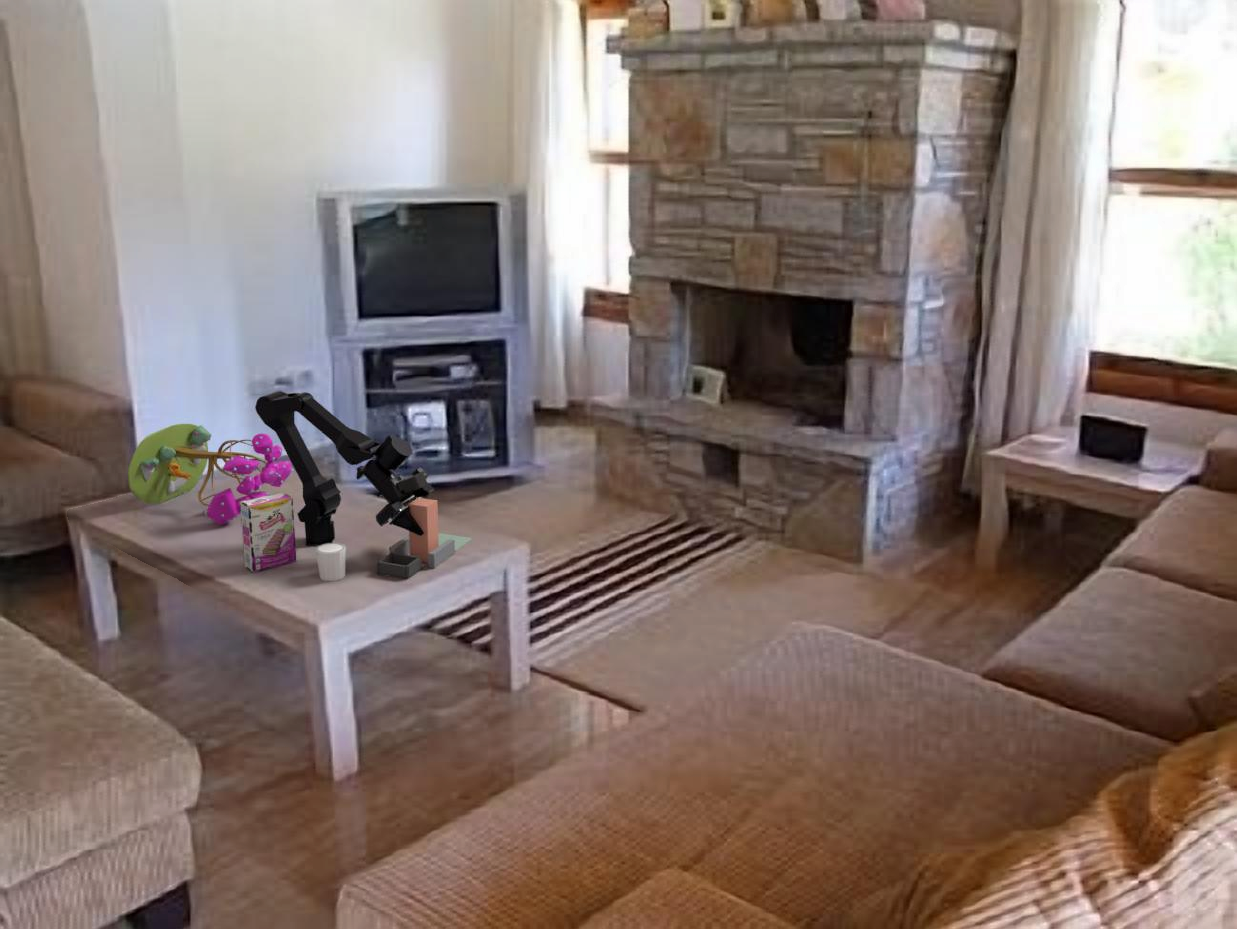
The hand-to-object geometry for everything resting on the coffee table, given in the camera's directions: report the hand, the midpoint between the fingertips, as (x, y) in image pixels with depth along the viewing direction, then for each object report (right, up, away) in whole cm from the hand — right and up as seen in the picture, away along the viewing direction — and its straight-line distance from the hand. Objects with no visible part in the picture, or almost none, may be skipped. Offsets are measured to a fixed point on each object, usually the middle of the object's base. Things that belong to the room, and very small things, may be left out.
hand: (428, 530), depth 275 cm
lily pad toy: (-61, +4, +35) cm, 71 cm away
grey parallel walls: (-1, -7, +3) cm, 7 cm away
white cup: (-21, -10, -9) cm, 25 cm away
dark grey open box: (-6, -9, -6) cm, 12 cm away
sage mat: (+2, -4, +12) cm, 13 cm away
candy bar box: (-37, -8, -2) cm, 38 cm away
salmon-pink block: (-1, -7, +3) cm, 7 cm away
